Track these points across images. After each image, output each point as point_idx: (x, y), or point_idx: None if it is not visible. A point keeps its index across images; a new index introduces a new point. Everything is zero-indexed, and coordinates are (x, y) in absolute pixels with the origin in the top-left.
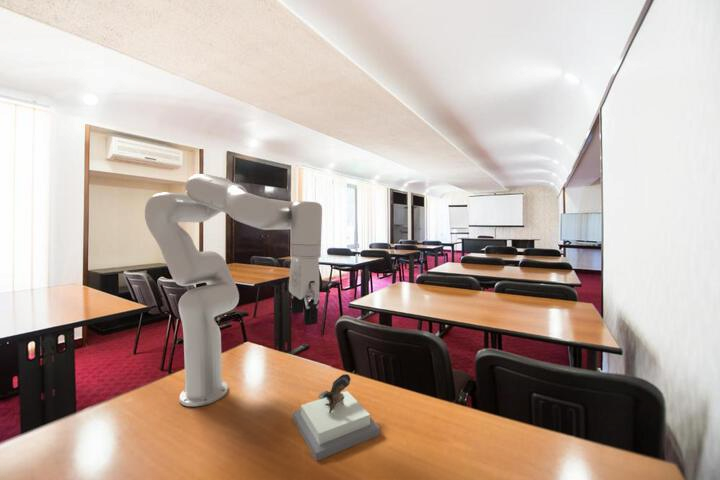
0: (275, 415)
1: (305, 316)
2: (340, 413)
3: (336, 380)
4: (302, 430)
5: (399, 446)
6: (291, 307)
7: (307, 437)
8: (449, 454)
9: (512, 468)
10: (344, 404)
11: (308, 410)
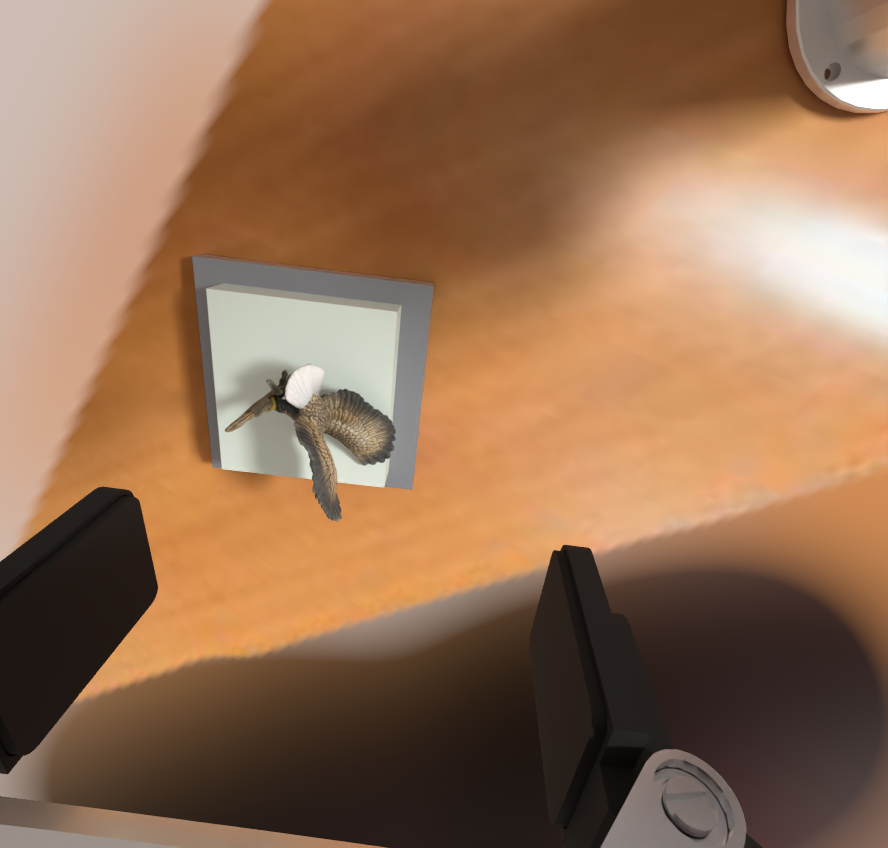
0: (493, 235)
1: (21, 553)
2: None
3: (312, 462)
4: (322, 271)
5: (160, 466)
6: (603, 595)
7: (274, 267)
8: None
9: None
10: None
11: (348, 319)
